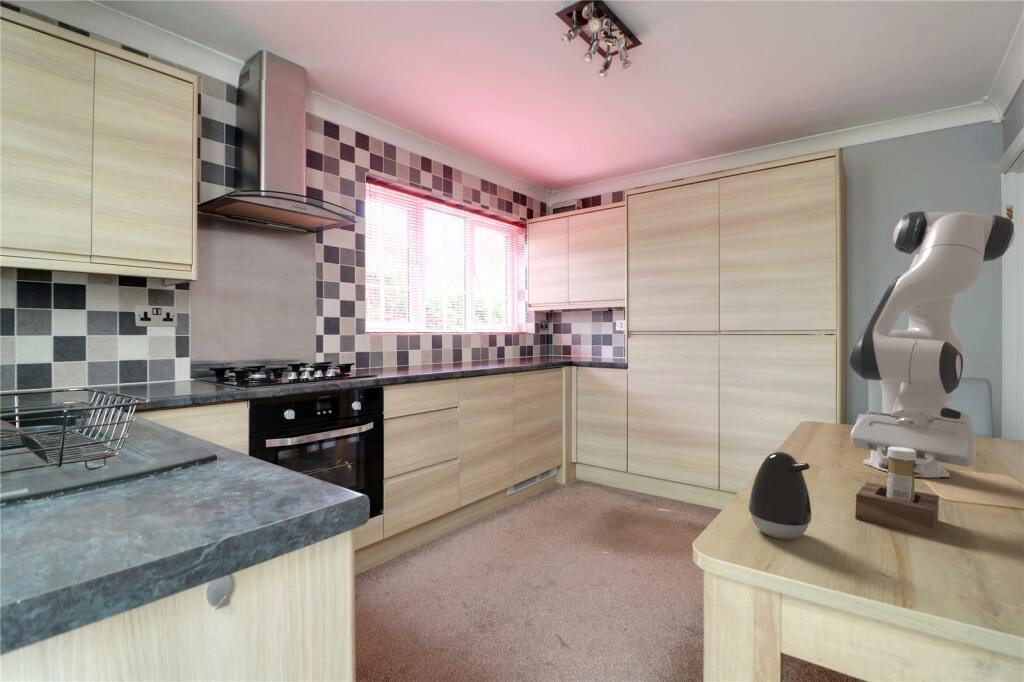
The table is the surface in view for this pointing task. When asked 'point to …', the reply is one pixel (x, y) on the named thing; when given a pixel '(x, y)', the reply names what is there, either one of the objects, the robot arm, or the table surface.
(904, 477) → the sprinkles bottle
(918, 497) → the spice caddy
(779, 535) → the pump dispenser
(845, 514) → the table surface
